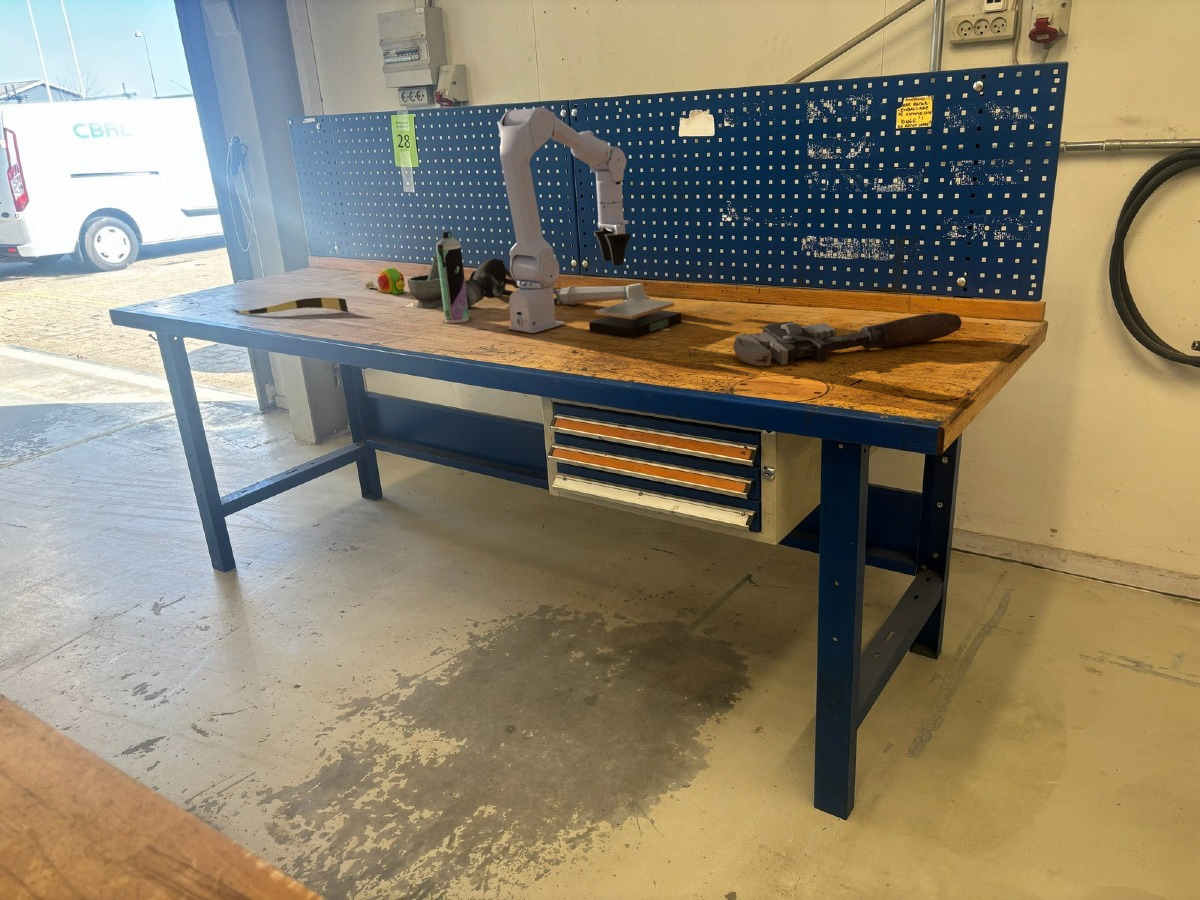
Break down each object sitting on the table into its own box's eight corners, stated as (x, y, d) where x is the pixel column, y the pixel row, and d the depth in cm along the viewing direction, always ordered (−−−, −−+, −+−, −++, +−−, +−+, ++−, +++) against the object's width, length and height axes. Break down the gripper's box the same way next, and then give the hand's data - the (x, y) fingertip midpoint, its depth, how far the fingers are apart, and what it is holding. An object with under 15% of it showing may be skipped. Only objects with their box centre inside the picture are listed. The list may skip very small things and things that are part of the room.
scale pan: (632, 323, 171) (631, 315, 170) (595, 318, 177) (595, 310, 176) (674, 309, 180) (674, 302, 180) (638, 305, 186) (638, 298, 186)
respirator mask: (481, 282, 224) (509, 237, 216) (543, 335, 223) (573, 291, 215) (442, 297, 206) (471, 249, 199) (508, 355, 205) (540, 308, 198)
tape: (336, 318, 208) (333, 303, 206) (214, 315, 221) (211, 300, 219) (350, 312, 213) (347, 297, 211) (231, 309, 226) (227, 295, 224)
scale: (635, 338, 170) (634, 328, 169) (589, 331, 178) (588, 322, 177) (683, 322, 181) (682, 312, 180) (638, 316, 189) (637, 307, 188)
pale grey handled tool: (567, 285, 207) (651, 277, 191) (572, 312, 209) (655, 306, 193) (553, 289, 203) (637, 281, 187) (558, 316, 205) (642, 311, 189)
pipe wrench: (752, 379, 145) (753, 351, 142) (721, 352, 156) (721, 326, 153) (967, 340, 154) (972, 314, 152) (924, 318, 165) (927, 293, 163)
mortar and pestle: (431, 310, 208) (424, 260, 204) (403, 308, 213) (396, 259, 209) (461, 301, 217) (455, 253, 213) (433, 299, 222) (427, 252, 218)
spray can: (464, 323, 193) (453, 232, 185) (441, 323, 194) (430, 233, 186) (472, 317, 198) (462, 229, 190) (450, 318, 199) (439, 230, 191)
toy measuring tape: (393, 296, 229) (389, 271, 227) (359, 289, 243) (355, 266, 240) (414, 292, 233) (410, 268, 230) (379, 285, 246) (375, 262, 244)
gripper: (636, 203, 188) (639, 265, 193) (617, 198, 201) (620, 256, 206) (606, 206, 186) (609, 268, 191) (588, 201, 199) (592, 259, 204)
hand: (613, 262), depth 198 cm, fingers open, 7 cm apart
